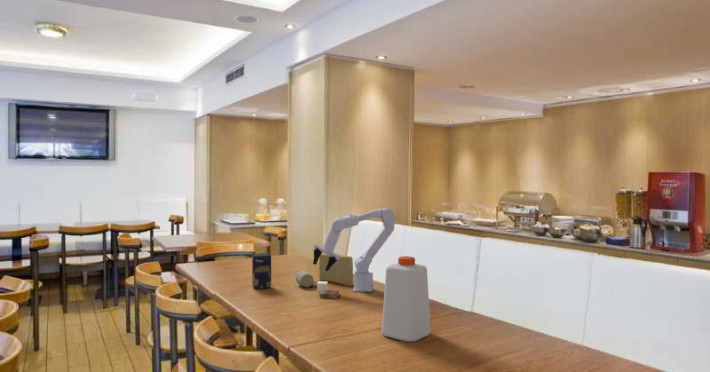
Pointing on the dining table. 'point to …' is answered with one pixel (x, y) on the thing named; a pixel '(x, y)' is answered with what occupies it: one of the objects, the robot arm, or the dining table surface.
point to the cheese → (337, 270)
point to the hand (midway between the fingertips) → (320, 267)
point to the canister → (261, 270)
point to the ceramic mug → (305, 279)
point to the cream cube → (322, 286)
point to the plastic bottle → (406, 301)
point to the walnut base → (329, 294)
